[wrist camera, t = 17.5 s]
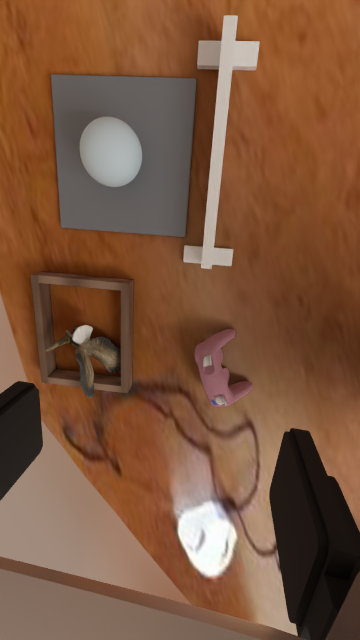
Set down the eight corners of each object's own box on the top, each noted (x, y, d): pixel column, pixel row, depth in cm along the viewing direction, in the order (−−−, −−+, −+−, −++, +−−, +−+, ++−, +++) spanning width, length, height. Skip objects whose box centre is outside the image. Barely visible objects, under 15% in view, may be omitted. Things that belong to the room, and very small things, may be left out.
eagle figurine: (51, 352, 42) (91, 398, 42) (37, 347, 35) (85, 403, 35) (93, 319, 44) (132, 363, 44) (88, 309, 37) (133, 361, 37)
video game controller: (208, 327, 41) (182, 351, 36) (237, 324, 38) (214, 350, 33) (227, 386, 44) (206, 416, 38) (255, 387, 41) (237, 420, 36)
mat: (196, 80, 30) (196, 78, 30) (185, 236, 36) (185, 237, 35) (53, 76, 32) (50, 74, 31) (62, 227, 37) (61, 227, 37)
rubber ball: (149, 129, 32) (131, 106, 26) (148, 191, 34) (130, 184, 28) (95, 127, 33) (65, 105, 27) (96, 188, 35) (69, 180, 29)
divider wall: (258, 46, 29) (265, 15, 25) (231, 265, 36) (233, 270, 32) (199, 45, 29) (196, 15, 25) (183, 261, 37) (179, 266, 32)
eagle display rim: (133, 279, 38) (128, 283, 36) (132, 384, 43) (127, 393, 41) (41, 271, 39) (30, 274, 37) (50, 373, 45) (41, 382, 42)
